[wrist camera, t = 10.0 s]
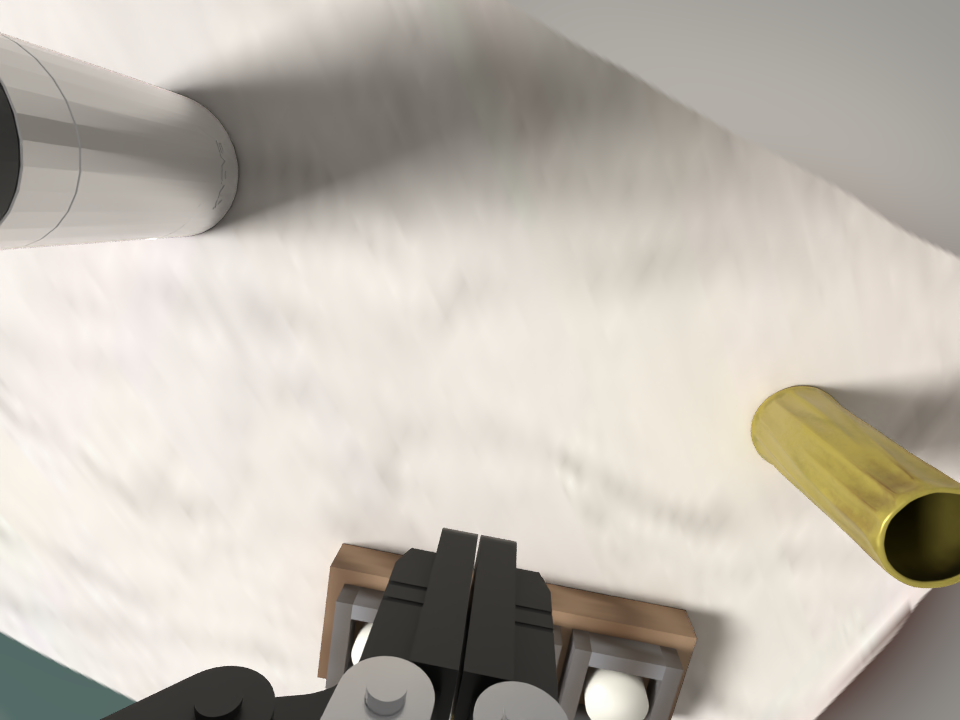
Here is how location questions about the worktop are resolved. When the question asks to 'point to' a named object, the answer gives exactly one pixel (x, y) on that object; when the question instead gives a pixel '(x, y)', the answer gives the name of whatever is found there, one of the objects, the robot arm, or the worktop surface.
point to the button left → (360, 642)
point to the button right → (614, 695)
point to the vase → (864, 484)
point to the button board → (576, 626)
